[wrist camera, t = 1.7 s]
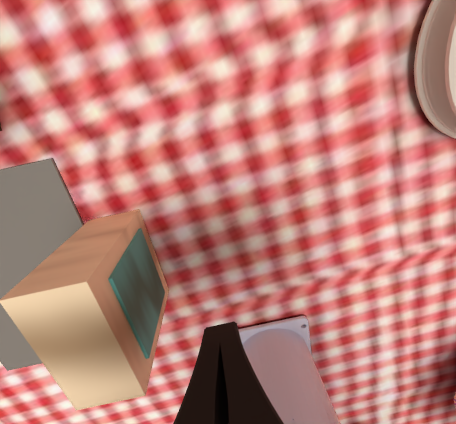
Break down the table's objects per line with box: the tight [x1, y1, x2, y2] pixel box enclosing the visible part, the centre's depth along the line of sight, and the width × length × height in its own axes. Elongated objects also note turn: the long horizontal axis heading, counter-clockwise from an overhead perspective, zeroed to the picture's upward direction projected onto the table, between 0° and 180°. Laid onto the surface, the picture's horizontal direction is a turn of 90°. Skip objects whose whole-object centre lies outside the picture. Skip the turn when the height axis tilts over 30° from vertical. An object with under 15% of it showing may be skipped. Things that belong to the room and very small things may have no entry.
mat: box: [0, 158, 84, 371], centre depth 21 cm, size 18×13×1 cm
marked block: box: [0, 209, 169, 410], centre depth 17 cm, size 8×4×9 cm, turn 12°
